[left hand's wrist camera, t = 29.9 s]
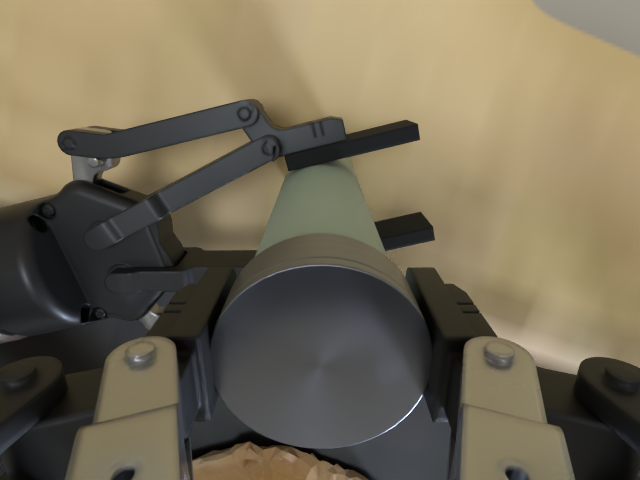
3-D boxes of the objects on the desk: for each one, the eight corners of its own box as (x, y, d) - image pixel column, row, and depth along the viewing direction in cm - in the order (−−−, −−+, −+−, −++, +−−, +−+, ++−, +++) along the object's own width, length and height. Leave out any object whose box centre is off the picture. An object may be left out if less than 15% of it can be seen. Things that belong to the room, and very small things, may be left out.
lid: (455, 308, 11) (481, 352, 9) (333, 422, 12) (336, 479, 10) (304, 191, 9) (300, 215, 8) (190, 333, 11) (166, 380, 9)
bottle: (357, 202, 28) (419, 400, 11) (295, 211, 29) (252, 421, 11) (348, 138, 27) (404, 243, 9) (282, 148, 27) (208, 272, 9)
